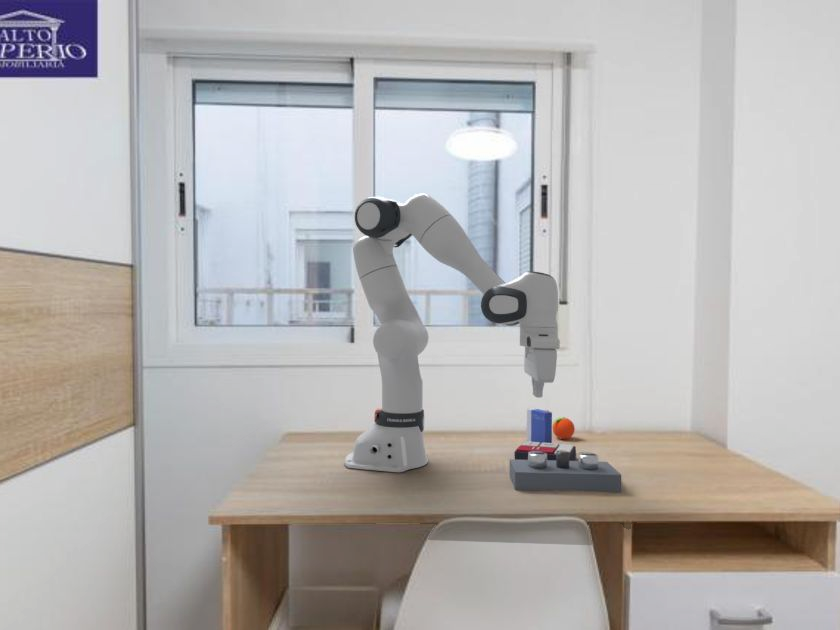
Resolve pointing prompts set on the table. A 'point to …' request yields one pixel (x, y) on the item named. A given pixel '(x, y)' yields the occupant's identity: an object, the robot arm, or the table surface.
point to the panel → (565, 477)
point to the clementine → (563, 428)
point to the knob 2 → (588, 461)
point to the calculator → (544, 450)
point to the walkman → (539, 426)
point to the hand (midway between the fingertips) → (537, 396)
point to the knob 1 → (537, 460)
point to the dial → (562, 459)
